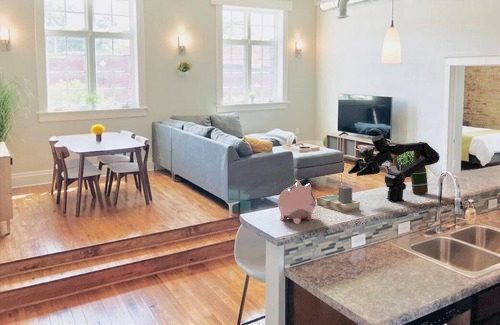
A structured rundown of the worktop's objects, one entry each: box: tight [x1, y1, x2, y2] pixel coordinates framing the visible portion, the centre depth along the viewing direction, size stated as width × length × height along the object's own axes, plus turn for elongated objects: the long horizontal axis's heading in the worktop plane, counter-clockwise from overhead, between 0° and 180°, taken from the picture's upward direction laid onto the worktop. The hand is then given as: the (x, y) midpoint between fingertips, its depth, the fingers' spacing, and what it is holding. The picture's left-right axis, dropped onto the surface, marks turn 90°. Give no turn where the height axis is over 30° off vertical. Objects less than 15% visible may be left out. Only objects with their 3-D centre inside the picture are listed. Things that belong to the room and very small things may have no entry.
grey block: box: [338, 185, 353, 204], centre depth 224 cm, size 5×5×7 cm
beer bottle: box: [410, 151, 429, 195], centre depth 250 cm, size 8×8×24 cm
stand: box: [316, 194, 361, 214], centre depth 229 cm, size 19×10×4 cm, turn 33°
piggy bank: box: [277, 181, 317, 225], centre depth 210 cm, size 15×18×16 cm
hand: (352, 174), depth 229 cm, fingers open, 9 cm apart
